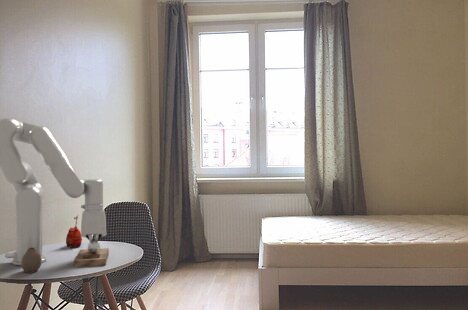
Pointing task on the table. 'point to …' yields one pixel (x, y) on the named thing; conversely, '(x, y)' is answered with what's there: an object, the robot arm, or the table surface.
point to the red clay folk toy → (73, 237)
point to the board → (91, 258)
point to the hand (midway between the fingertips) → (93, 249)
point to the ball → (93, 247)
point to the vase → (31, 260)
